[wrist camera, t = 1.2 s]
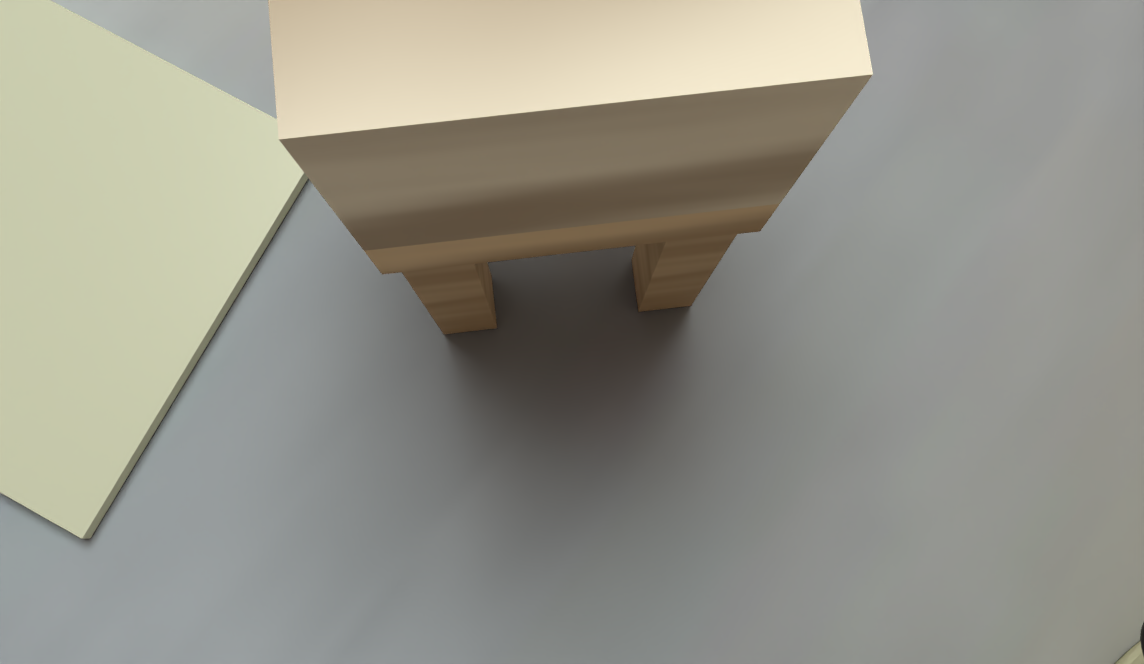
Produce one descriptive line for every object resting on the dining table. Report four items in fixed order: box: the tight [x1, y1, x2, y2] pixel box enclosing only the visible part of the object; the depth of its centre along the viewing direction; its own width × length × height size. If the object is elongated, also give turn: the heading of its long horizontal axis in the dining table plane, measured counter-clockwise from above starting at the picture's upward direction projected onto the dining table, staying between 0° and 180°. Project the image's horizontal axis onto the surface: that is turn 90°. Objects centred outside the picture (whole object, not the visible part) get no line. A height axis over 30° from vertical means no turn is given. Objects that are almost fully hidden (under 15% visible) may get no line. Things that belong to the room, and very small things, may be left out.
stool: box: [268, 0, 873, 334], centre depth 17 cm, size 5×6×13 cm
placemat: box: [0, 0, 308, 539], centre depth 23 cm, size 10×10×1 cm
